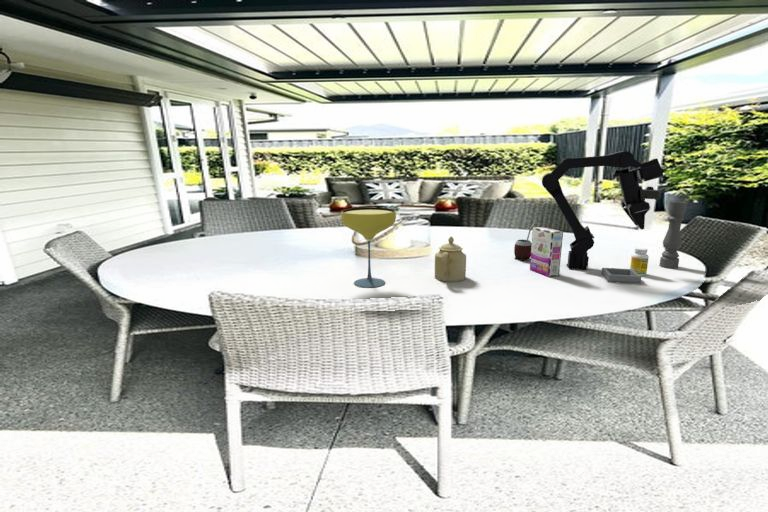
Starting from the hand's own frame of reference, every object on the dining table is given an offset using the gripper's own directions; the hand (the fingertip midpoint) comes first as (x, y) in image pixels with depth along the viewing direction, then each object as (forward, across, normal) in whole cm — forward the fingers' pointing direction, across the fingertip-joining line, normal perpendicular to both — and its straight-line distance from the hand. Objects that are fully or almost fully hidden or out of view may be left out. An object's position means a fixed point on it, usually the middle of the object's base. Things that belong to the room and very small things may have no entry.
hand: (639, 227), depth 160 cm
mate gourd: (+4, +8, +43) cm, 44 cm away
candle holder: (+21, +13, -8) cm, 26 cm away
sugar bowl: (-4, -30, +65) cm, 72 cm away
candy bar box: (+6, -11, +35) cm, 38 cm away
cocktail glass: (-12, -44, +89) cm, 100 cm away
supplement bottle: (+16, -3, +5) cm, 17 cm away
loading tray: (+14, -12, +11) cm, 21 cm away
